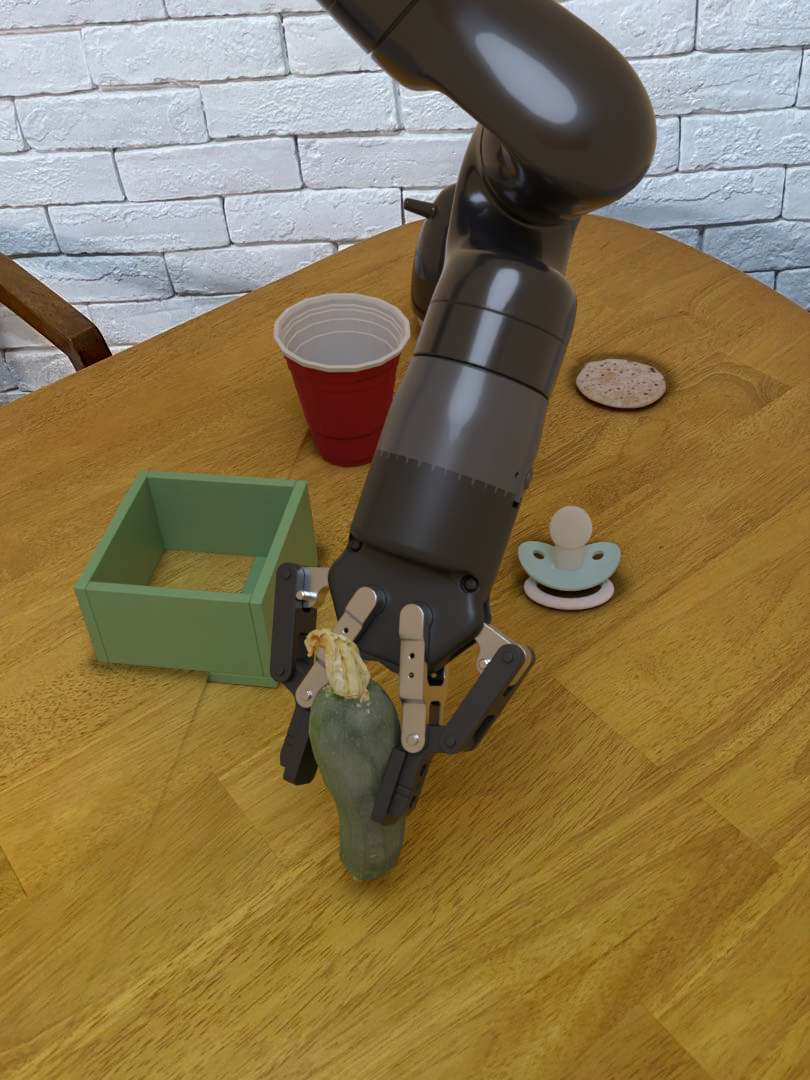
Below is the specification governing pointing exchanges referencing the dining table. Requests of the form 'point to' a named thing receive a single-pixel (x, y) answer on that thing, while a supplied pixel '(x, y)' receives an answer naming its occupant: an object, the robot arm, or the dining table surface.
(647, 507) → the dining table surface
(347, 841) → the vegetable
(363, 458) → the plastic cup
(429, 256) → the pump dispenser
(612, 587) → the pacifier
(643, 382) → the flatbread
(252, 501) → the green bin
